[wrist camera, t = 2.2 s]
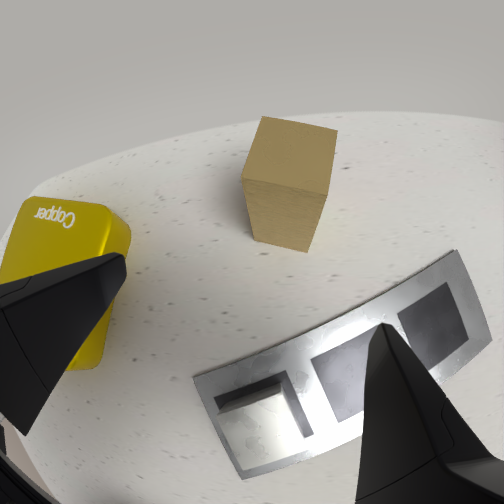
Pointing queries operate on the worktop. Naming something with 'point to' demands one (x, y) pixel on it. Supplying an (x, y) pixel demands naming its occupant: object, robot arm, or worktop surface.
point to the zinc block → (261, 427)
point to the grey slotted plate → (355, 358)
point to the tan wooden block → (288, 181)
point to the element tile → (65, 251)
